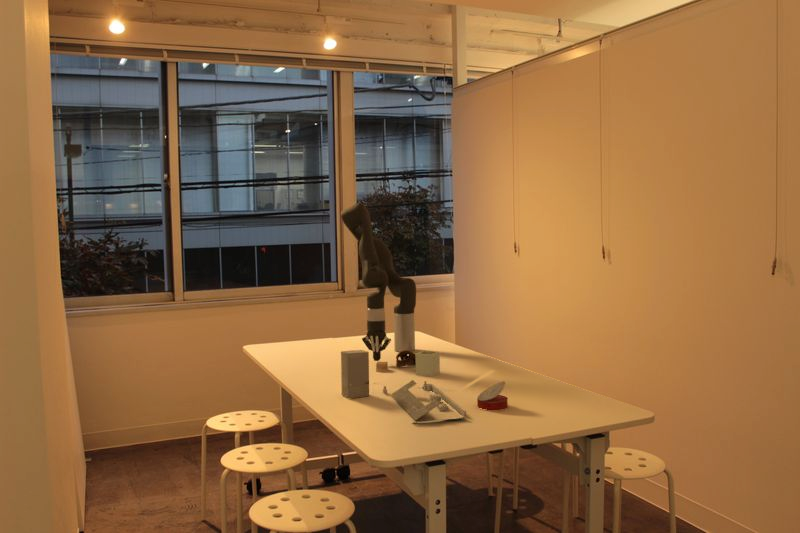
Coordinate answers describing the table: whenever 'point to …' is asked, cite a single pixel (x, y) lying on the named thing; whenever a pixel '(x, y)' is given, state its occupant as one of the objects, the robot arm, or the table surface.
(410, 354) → the pottery mug
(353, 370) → the skincare box
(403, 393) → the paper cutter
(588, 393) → the table surface
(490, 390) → the canned food
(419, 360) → the celadon pot
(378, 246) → the robot arm
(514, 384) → the table surface
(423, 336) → the table surface
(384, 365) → the oak block
